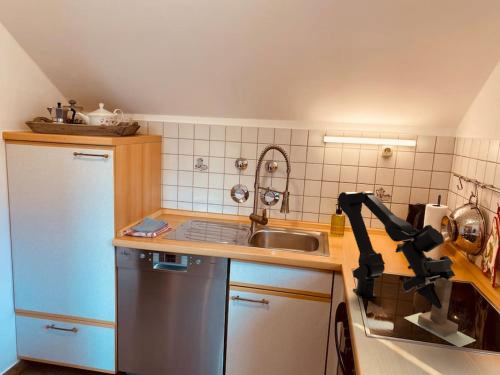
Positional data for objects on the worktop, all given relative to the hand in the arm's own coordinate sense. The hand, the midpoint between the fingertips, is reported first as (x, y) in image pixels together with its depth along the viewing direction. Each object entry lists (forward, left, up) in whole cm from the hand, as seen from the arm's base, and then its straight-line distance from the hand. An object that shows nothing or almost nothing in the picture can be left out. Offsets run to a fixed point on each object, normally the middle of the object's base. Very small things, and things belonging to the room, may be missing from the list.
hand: (444, 307), depth 114 cm
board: (-1, 0, -8) cm, 8 cm away
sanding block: (-1, 0, -7) cm, 7 cm away
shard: (-14, -14, -9) cm, 22 cm away
